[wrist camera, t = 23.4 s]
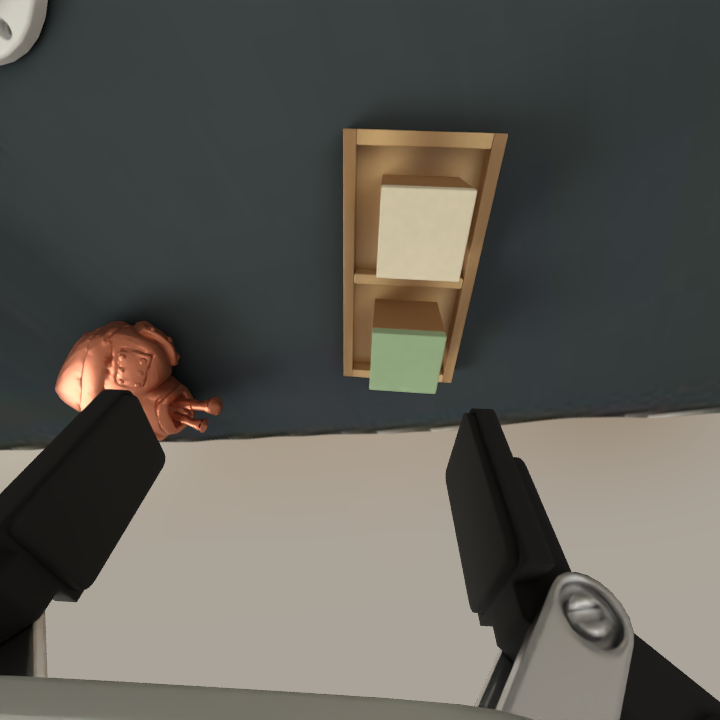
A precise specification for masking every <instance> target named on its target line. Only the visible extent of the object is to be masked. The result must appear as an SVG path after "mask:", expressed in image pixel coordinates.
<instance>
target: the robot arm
mask: <svg viewBox="0 0 720 720" xmlns="http://www.w3.org/2000/svg"><path fill="white" fill-rule="evenodd" d="M47 3H48V0H0V66H1V65H4V64H8V63H12V62H15V61H16V60H17V59H19V58H20V57H22V56H23V55H25V54H26V53H28V51H29V50H30V49H31V47H32V46H33V45H34V43H35V42H36V40H37V39H38V38H39V35H40V32H41V29H42V27H43V24H44V21H45V18H46V11H47ZM164 463H165V454H164V452H163V450H162V448H161V445H160V443H159V441H158V439H157V437H156V435H155V433H154V431H153V429H152V426H151V424H150V422H149V420H148V418H147V416H146V414H145V412H144V410H143V408H142V405H141V403H140V401H139V399H138V398H137V397H136V396H135V395H133V393H132V392H131V391H129V390H118V389H105V390H103V391H101V392H100V393H99V394H98V395H97V396H96V397H95V398H94V399H93V400H92V401H91V402H90V403H89V404H88V405H87V406H86V407H85V408H84V409H83V410H82V411H81V412H80V413H79V414H78V415H77V416H76V418H75V419H74V420H73V421H72V422H71V423H70V424H69V425H68V426H67V427H66V428H65V429H64V430H63V431H62V432H61V433H60V434H59V435H58V436H57V437H56V438H55V439H54V440H53V441H52V442H51V443H50V444H49V445H48V446H47V447H46V448H45V449H44V450H43V451H42V452H41V453H40V454H39V455H38V456H37V457H36V458H35V459H34V460H33V461H32V462H31V463H30V464H29V465H28V466H27V467H26V468H25V469H24V471H22V472H21V473H20V474H19V475H18V477H17V478H16V479H14V480H13V482H11V484H10V485H9V486H8V487H7V488H6V489H5V490H4V491H3V492H2V493H1V494H0V720H720V702H719V701H718V700H717V699H715V698H714V697H713V696H712V695H710V694H709V693H708V692H706V691H705V690H704V689H703V688H702V687H700V686H699V685H698V684H697V683H695V682H694V681H693V680H692V679H690V678H689V677H688V676H687V675H685V674H684V673H683V672H682V671H680V670H679V669H678V668H677V667H675V666H674V665H673V664H672V663H671V662H669V661H668V660H667V659H666V658H664V657H663V656H662V655H660V654H659V653H658V652H657V651H656V650H654V649H653V648H652V647H651V646H649V645H648V644H647V643H645V642H644V641H643V640H642V639H641V638H639V637H638V636H637V635H636V634H634V631H633V628H632V625H631V622H630V618H629V616H628V614H627V613H626V611H625V609H624V608H623V606H622V604H621V603H620V602H619V600H618V599H617V598H616V597H615V596H614V595H613V593H612V592H610V590H608V589H607V588H606V587H605V586H604V585H602V584H601V583H600V582H598V581H597V580H595V579H593V578H591V577H589V576H588V575H584V574H581V573H577V572H571V570H570V568H569V565H568V563H567V561H566V558H565V556H564V554H563V551H562V549H561V546H560V544H559V542H558V539H557V537H556V535H555V532H554V530H553V528H552V525H551V523H550V521H549V518H548V516H547V514H546V511H545V509H544V507H543V504H542V502H541V500H540V497H539V495H538V493H537V490H536V488H535V485H534V483H533V481H532V479H531V476H530V474H529V471H528V469H527V467H526V465H525V463H524V462H523V461H522V460H521V459H520V458H517V457H513V456H512V453H511V451H510V448H509V446H508V443H507V441H506V438H505V436H504V433H503V431H502V428H501V426H500V423H499V421H498V418H497V416H496V413H495V411H494V410H492V409H474V408H473V409H471V410H470V412H469V413H464V415H463V417H462V421H461V424H460V427H459V430H458V434H457V437H456V440H455V444H454V447H453V450H452V453H451V456H450V459H449V463H448V466H447V469H446V484H447V489H448V495H449V500H450V505H451V511H452V516H453V521H454V526H455V532H456V537H457V542H458V547H459V553H460V558H461V563H462V568H463V573H464V578H465V584H466V589H467V594H468V599H469V604H470V608H471V610H472V612H474V613H478V616H479V620H480V625H481V626H493V629H494V634H495V638H496V642H497V646H498V647H499V648H500V650H499V652H498V654H497V656H496V658H495V661H494V663H493V665H492V667H491V670H490V672H489V674H488V677H487V679H486V681H485V683H484V686H483V688H482V690H481V692H480V695H479V697H478V699H477V701H476V703H475V706H474V707H473V706H467V705H460V704H448V703H436V702H424V701H413V700H402V699H389V698H376V697H360V696H344V695H329V694H314V693H298V692H283V691H282V692H281V691H267V690H251V689H234V688H218V687H217V688H216V687H201V686H184V685H167V684H151V683H134V682H114V681H97V680H80V679H62V678H47V656H46V655H47V652H46V627H45V609H46V608H47V606H48V605H49V603H50V602H51V600H52V599H53V600H55V601H67V602H77V601H78V599H79V598H80V596H81V594H82V593H83V591H84V590H85V589H87V588H89V587H90V586H91V585H92V584H93V582H94V581H95V579H96V578H97V576H98V574H99V573H100V571H101V569H102V568H103V566H104V565H105V563H106V561H107V559H108V558H109V556H110V554H111V553H112V551H113V549H114V548H115V546H116V544H117V543H118V541H119V540H120V538H121V536H122V535H123V533H124V531H125V530H126V528H127V526H128V524H129V523H130V521H131V519H132V518H133V516H134V515H135V513H136V511H137V509H138V508H139V506H140V504H141V503H142V501H143V500H144V498H145V496H146V495H147V493H148V491H149V490H150V488H151V486H152V485H153V483H154V481H155V480H156V478H157V476H158V474H159V473H160V471H161V469H162V468H163V466H164Z"/></svg>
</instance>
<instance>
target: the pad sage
mask: <svg viewBox="0 0 720 720" xmlns="http://www.w3.org/2000/svg"><path fill="white" fill-rule="evenodd" d="M446 339H447V337H446V333H445V329H444V325H443V322H442V318H441V314H440V311H439V307H438V303H437V302H424V301H406V300H387V299H375V304H374V317H373V329H372V345H371V364H370V382H369V389H370V390H383V391H398V392H414V393H429V394H435V393H436V389H437V384H438V379H439V374H440V369H441V364H442V359H443V354H444V349H445V344H446Z"/></svg>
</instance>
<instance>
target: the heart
mask: <svg viewBox="0 0 720 720" xmlns="http://www.w3.org/2000/svg"><path fill="white" fill-rule="evenodd" d="M179 359H180V355H179V354H178V353H177V352H176V349H175V346H174V344H173V340H172V338H171V337H168V336H167V335H166V334H164V333H163V332H162V331H161V330H159V329H158V328H156V327H154V326H152V324H151V323H149V322H147V321H141V322H137V323H136V324H135V326H133V325H130V324H128V323H126V322H124V321H114V322H110V323H108V324H107V325H105V326H104V327H100V328H98V329H96V330H94V331H92V332H86V333H84V334H83V336H82V337H81V338H80V339H79V340H78V342H77V343H76V344H75V346H74V347H73V348H72V350H71V351H70V353H69V355H68V357H67V358H66V360H65V362H64V363H63V366H62V368H61V370H60V373H59V375H58V378H57V382H56V386H55V391H56V392H57V394H58V396H59V397H60V398H61V399H62V400H63V401H64V402H65V403H66V404H68V405H69V406H71V407H72V408H74V409H75V410H77V411H79V412H81V411H82V410H83V409H84V408H85V407H86V406H87V405H88V404H89V403H90V402H91V401H92V400H93V399H94V398H95V397H96V396H97V395H98V394H99V393H100V392H101V391H103V390H105V389H118V390H129V391H131V392H132V393H133V395H135V396H136V397H137V398H138V399H139V401H140V403H141V405H142V408H143V410H144V412H145V414H146V416H147V418H148V420H149V422H150V424H151V426H152V429H153V431H154V433H155V435H156V437H157V439H158V441H161V440H163V439H164V438H166V437H167V436H168V435H170V434H176V433H178V432H180V431H181V430H183V429H184V428H185V427H186V426H187V425H189V426H191V427H193V428H195V429H196V430H199V431H200V432H201V433H203V432H204V431H205V430H206V429H207V427H208V419H193V417H194V415H195V411H196V410H198V411H205V412H207V413H209V414H212V415H218V414H219V413H220V412H221V411H222V408H223V403H222V400H221V399H220V398H219V397H217V396H215V397H212V398H211V399H207V400H205V401H199V400H197V399H193V397H192V395H191V393H190V391H189V390H188V388H187V387H186V386H184V385H183V384H181V383H180V382H179V381H178V380H177V379H176V378H175V377H173V376H172V375H171V373H172V366H176V365H177V364H178V360H179Z"/></svg>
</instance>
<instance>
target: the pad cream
mask: <svg viewBox="0 0 720 720" xmlns="http://www.w3.org/2000/svg"><path fill="white" fill-rule="evenodd" d="M476 196H477V190H476V189H474V188H473V187H472V186H470V185H469V184H468V183H466V182H465V181H464V180H462V179H461V178H460V177H443V176H416V175H390V174H383V176H382V184H381V198H380V216H379V234H378V252H377V270H376V277H377V278H392V279H411V280H431V281H451V282H459V279H460V274H461V270H462V265H463V260H464V255H465V250H466V245H467V240H468V235H469V230H470V225H471V220H472V215H473V211H474V206H475V201H476Z"/></svg>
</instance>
